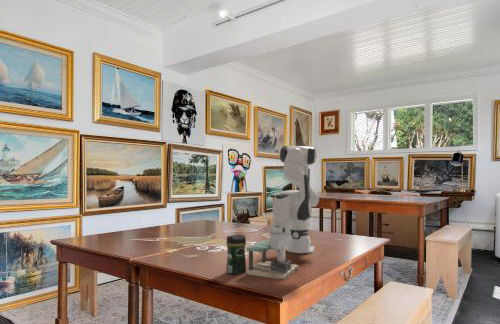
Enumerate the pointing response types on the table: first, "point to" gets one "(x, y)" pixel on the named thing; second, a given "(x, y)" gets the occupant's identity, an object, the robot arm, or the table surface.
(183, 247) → the table surface
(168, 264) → the table surface
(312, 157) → the robot arm
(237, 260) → the coffee jar
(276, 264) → the canopy socket
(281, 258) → the peg
